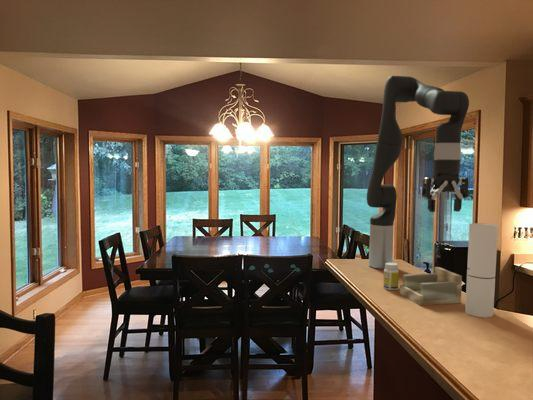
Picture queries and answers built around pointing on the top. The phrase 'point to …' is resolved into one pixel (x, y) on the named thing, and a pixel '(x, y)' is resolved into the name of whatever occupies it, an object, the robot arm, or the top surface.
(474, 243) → the cylindrical container
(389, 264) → the supplement bottle
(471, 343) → the top surface
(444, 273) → the open rectangular tray
